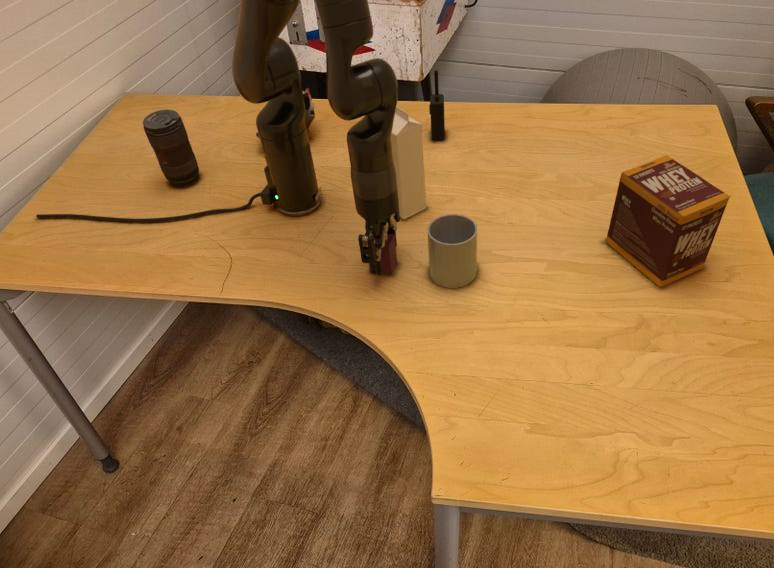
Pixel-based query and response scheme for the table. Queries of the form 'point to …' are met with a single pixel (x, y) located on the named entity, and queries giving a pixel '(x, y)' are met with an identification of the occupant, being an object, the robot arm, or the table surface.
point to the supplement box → (665, 219)
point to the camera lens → (172, 147)
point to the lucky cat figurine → (306, 110)
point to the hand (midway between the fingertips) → (384, 260)
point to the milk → (408, 163)
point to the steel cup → (452, 250)
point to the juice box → (388, 254)
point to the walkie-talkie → (437, 113)
